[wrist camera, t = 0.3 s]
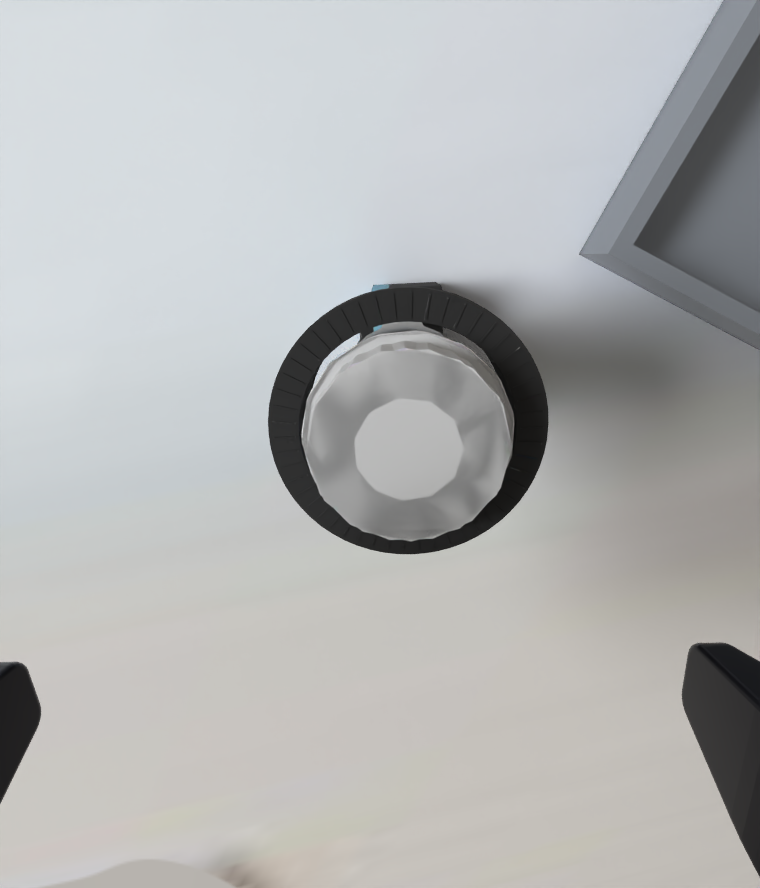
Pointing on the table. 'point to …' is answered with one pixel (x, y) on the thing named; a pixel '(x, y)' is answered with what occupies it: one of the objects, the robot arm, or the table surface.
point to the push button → (408, 421)
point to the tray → (698, 186)
